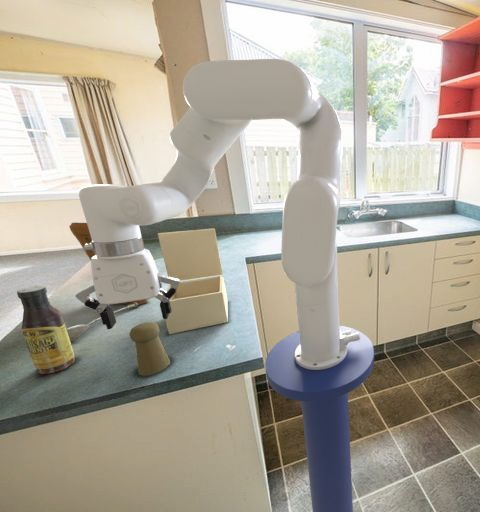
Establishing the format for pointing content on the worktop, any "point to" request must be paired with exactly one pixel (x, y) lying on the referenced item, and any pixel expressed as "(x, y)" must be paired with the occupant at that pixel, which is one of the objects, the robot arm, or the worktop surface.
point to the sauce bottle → (44, 331)
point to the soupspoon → (80, 329)
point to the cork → (149, 349)
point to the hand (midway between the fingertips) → (140, 321)
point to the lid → (191, 254)
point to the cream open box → (198, 304)
